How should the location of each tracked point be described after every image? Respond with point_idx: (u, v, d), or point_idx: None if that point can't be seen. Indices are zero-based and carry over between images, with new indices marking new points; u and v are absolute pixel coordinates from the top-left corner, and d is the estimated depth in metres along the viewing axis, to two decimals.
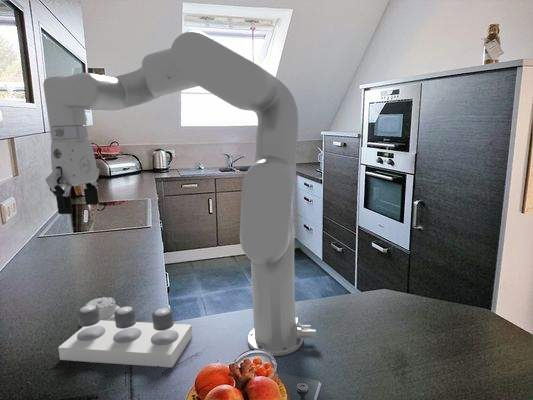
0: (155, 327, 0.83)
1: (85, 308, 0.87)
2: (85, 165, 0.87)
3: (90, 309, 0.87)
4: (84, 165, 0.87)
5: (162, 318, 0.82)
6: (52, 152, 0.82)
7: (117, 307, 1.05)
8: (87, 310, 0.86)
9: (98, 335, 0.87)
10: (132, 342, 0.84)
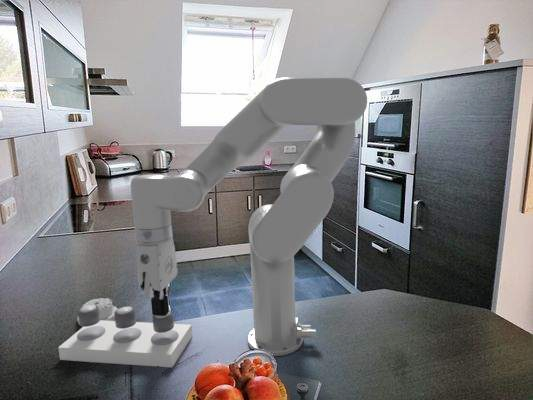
0: (155, 329, 0.83)
1: (85, 308, 0.87)
2: (169, 265, 0.82)
3: (90, 309, 0.87)
4: (168, 265, 0.81)
5: (162, 320, 0.82)
6: (139, 256, 0.77)
7: (114, 308, 1.05)
8: (87, 310, 0.86)
9: (98, 335, 0.87)
10: (132, 342, 0.84)
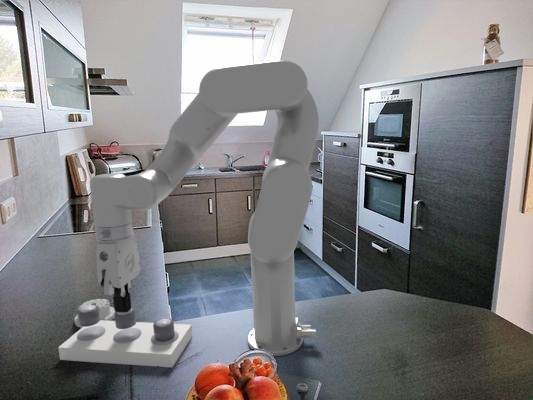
0: (156, 338, 0.83)
1: (85, 308, 0.87)
2: (130, 262, 0.83)
3: (90, 309, 0.87)
4: (129, 263, 0.83)
5: (163, 329, 0.83)
6: (98, 254, 0.79)
7: (111, 308, 1.04)
8: (87, 310, 0.86)
9: (98, 335, 0.87)
10: (132, 342, 0.84)
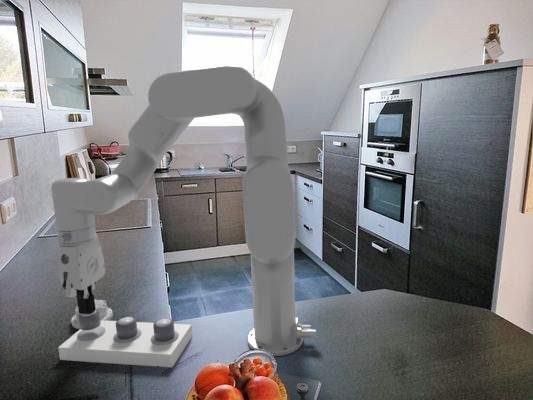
0: (156, 338, 0.83)
1: None
2: (93, 265, 0.85)
3: (91, 313, 0.87)
4: (92, 265, 0.85)
5: (163, 329, 0.83)
6: (59, 257, 0.80)
7: (108, 309, 1.04)
8: (88, 314, 0.86)
9: (98, 335, 0.87)
10: (132, 342, 0.84)
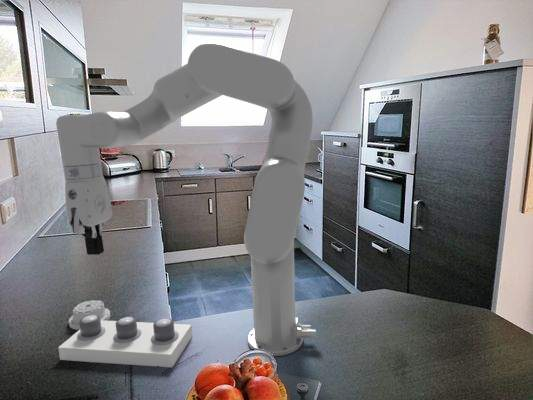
0: (156, 338, 0.83)
1: (86, 318, 0.88)
2: (100, 204, 0.84)
3: (91, 319, 0.87)
4: (99, 204, 0.84)
5: (163, 329, 0.83)
6: (67, 193, 0.80)
7: (106, 310, 1.04)
8: (88, 320, 0.87)
9: (98, 335, 0.87)
10: (132, 342, 0.84)
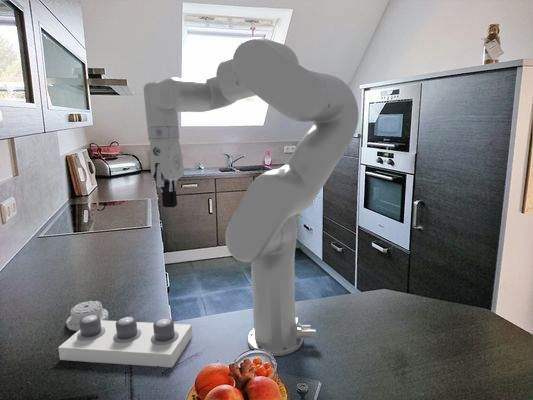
0: (156, 338, 0.83)
1: (86, 318, 0.88)
2: (177, 162, 0.96)
3: (91, 319, 0.87)
4: (176, 162, 0.96)
5: (163, 329, 0.83)
6: (151, 150, 0.91)
7: (104, 311, 1.03)
8: (88, 320, 0.87)
9: (98, 335, 0.87)
10: (132, 342, 0.84)
